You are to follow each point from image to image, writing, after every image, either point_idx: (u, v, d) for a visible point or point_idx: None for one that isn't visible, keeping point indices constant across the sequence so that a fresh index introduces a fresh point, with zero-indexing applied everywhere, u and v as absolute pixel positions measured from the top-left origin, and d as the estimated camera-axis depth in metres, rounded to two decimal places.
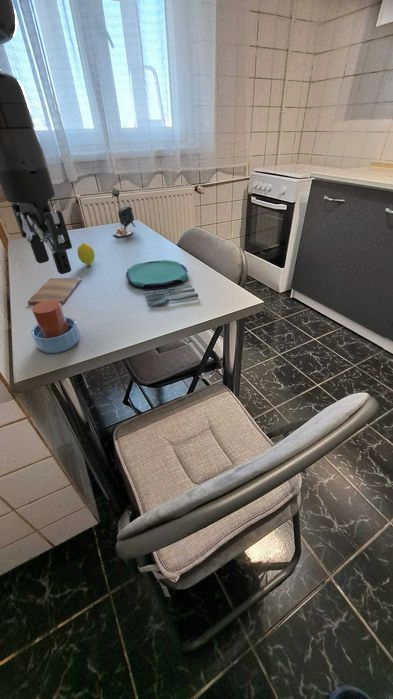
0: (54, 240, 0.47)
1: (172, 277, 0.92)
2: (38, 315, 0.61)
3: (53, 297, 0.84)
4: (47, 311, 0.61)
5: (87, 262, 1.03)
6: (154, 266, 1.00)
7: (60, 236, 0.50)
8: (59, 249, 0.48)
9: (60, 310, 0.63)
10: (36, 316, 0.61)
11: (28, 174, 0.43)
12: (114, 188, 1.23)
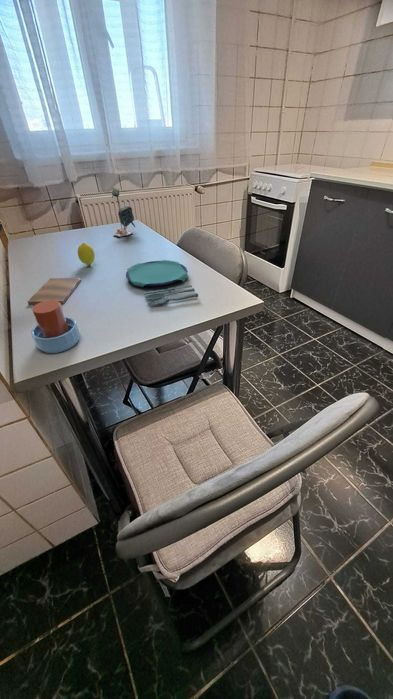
0: None
1: (172, 277, 0.92)
2: (38, 315, 0.61)
3: (53, 297, 0.84)
4: (47, 311, 0.61)
5: (87, 262, 1.03)
6: (154, 266, 1.00)
7: None
8: None
9: (60, 310, 0.63)
10: (36, 316, 0.61)
11: None
12: (114, 188, 1.23)
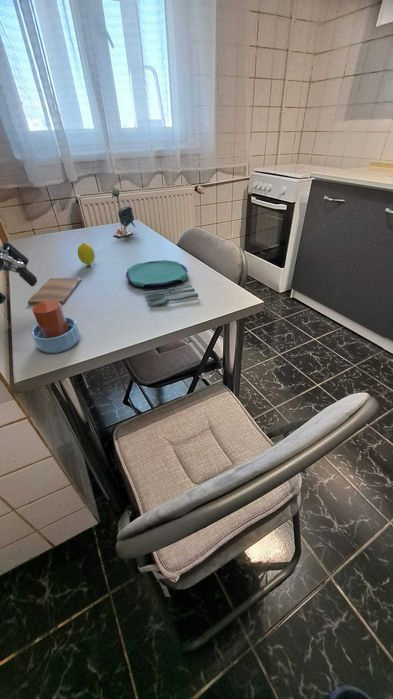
0: (21, 255, 0.65)
1: (172, 277, 0.92)
2: (38, 315, 0.61)
3: (53, 297, 0.84)
4: (47, 311, 0.61)
5: (87, 262, 1.03)
6: (154, 266, 1.00)
7: (11, 266, 0.65)
8: (27, 259, 0.66)
9: (60, 310, 0.63)
10: (36, 316, 0.61)
11: None
12: (114, 188, 1.23)
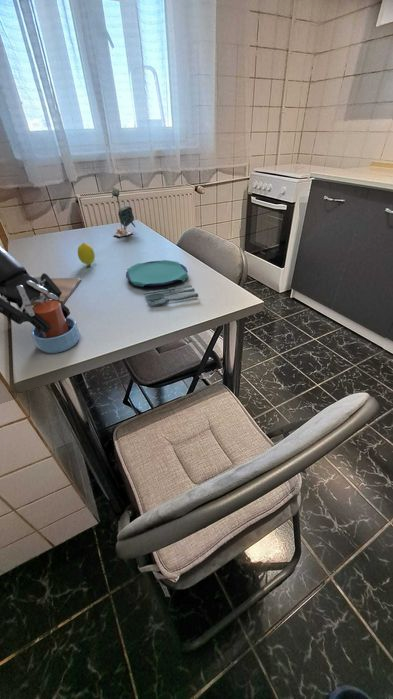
0: (56, 287, 0.66)
1: (172, 277, 0.92)
2: (38, 315, 0.61)
3: None
4: (47, 311, 0.61)
5: (87, 262, 1.03)
6: (154, 266, 1.00)
7: (46, 297, 0.66)
8: (60, 292, 0.67)
9: (60, 310, 0.63)
10: None
11: None
12: (114, 188, 1.23)
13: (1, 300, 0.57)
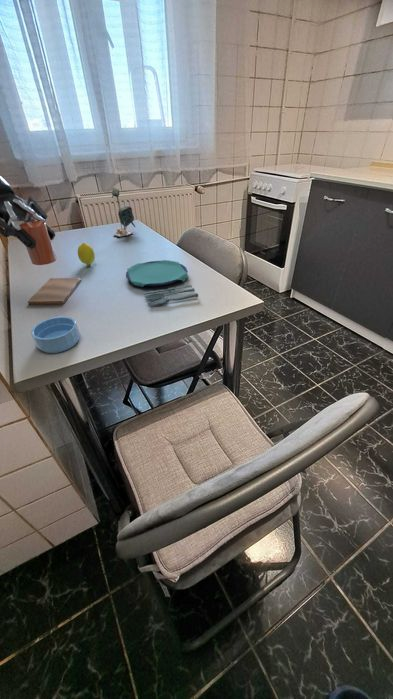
0: (42, 210, 0.70)
1: (172, 277, 0.92)
2: (24, 230, 0.65)
3: (53, 297, 0.84)
4: (33, 226, 0.65)
5: (87, 262, 1.03)
6: (154, 266, 1.00)
7: (32, 220, 0.70)
8: (46, 215, 0.71)
9: (45, 228, 0.67)
10: None
11: None
12: (114, 188, 1.23)
13: None
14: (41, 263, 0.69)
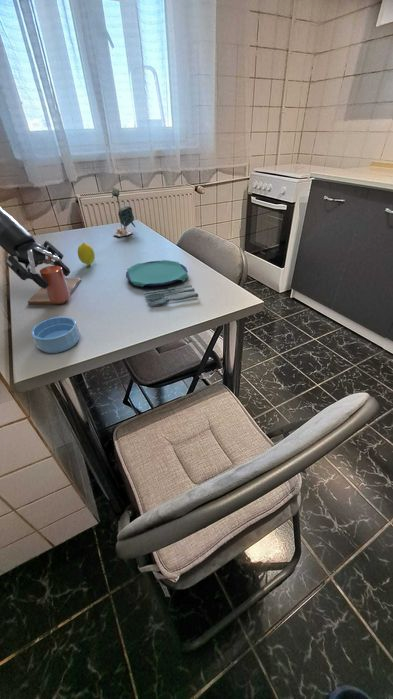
0: (58, 251, 0.83)
1: (172, 277, 0.92)
2: (44, 275, 0.77)
3: None
4: (52, 272, 0.77)
5: (87, 262, 1.03)
6: (154, 266, 1.00)
7: None
8: (62, 255, 0.83)
9: (62, 273, 0.79)
10: (43, 276, 0.77)
11: None
12: (114, 188, 1.23)
13: (13, 258, 0.72)
14: (58, 301, 0.81)
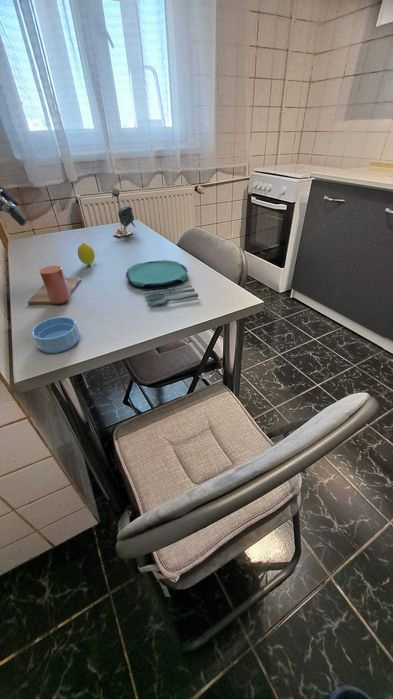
0: (12, 197, 0.74)
1: (172, 277, 0.92)
2: (44, 275, 0.77)
3: None
4: (52, 272, 0.77)
5: (87, 262, 1.03)
6: (154, 266, 1.00)
7: (3, 207, 0.74)
8: None
9: (62, 273, 0.79)
10: (43, 276, 0.77)
11: None
12: (114, 188, 1.23)
13: None
14: (58, 301, 0.81)
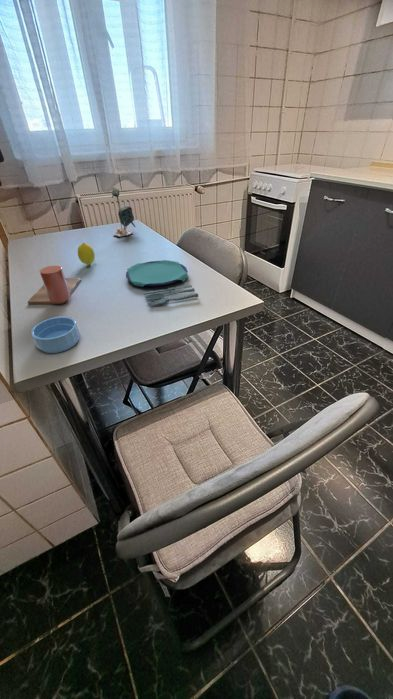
0: None
1: (172, 277, 0.92)
2: (44, 275, 0.77)
3: None
4: (52, 272, 0.77)
5: (87, 262, 1.03)
6: (154, 266, 1.00)
7: None
8: (3, 158, 0.55)
9: (62, 273, 0.79)
10: (43, 276, 0.77)
11: None
12: (114, 188, 1.23)
13: None
14: (58, 301, 0.81)
